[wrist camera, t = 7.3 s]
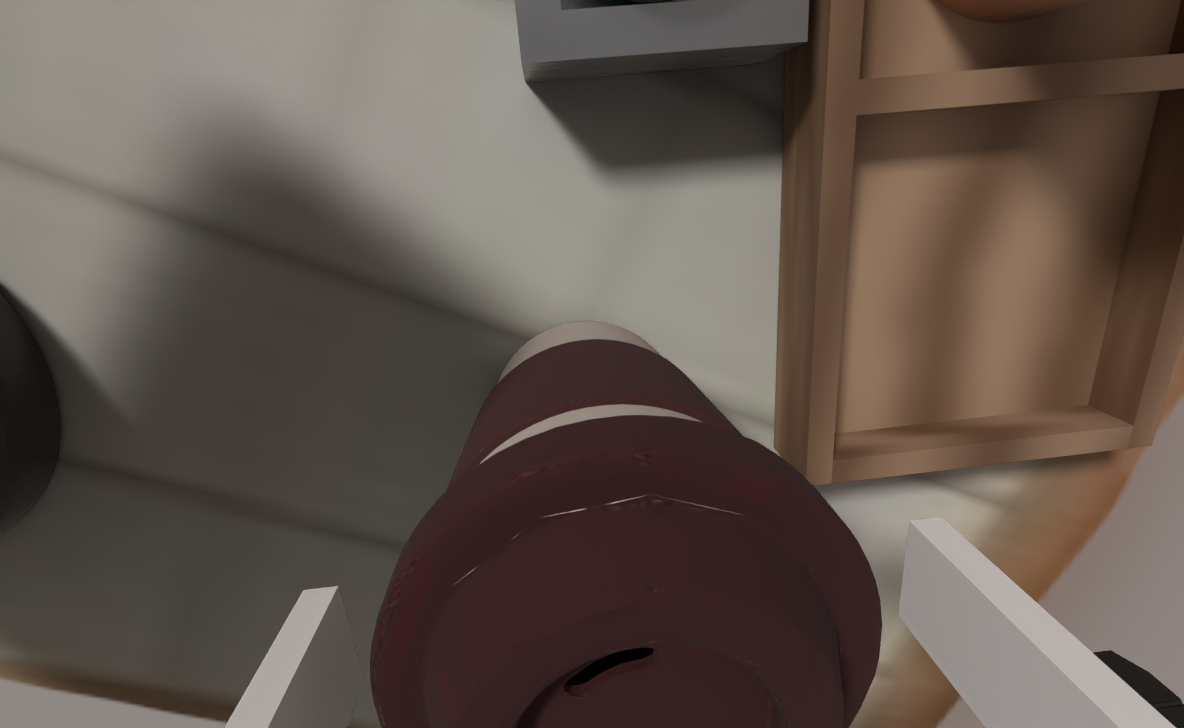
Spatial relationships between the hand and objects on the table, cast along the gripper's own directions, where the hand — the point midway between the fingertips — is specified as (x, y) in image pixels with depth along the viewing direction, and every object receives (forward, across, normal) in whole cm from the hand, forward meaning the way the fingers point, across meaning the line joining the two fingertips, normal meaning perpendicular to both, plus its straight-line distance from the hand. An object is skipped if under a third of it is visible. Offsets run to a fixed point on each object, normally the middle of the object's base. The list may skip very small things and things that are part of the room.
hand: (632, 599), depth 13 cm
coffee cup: (+11, 0, 0) cm, 11 cm away
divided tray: (+11, +15, +11) cm, 21 cm away
